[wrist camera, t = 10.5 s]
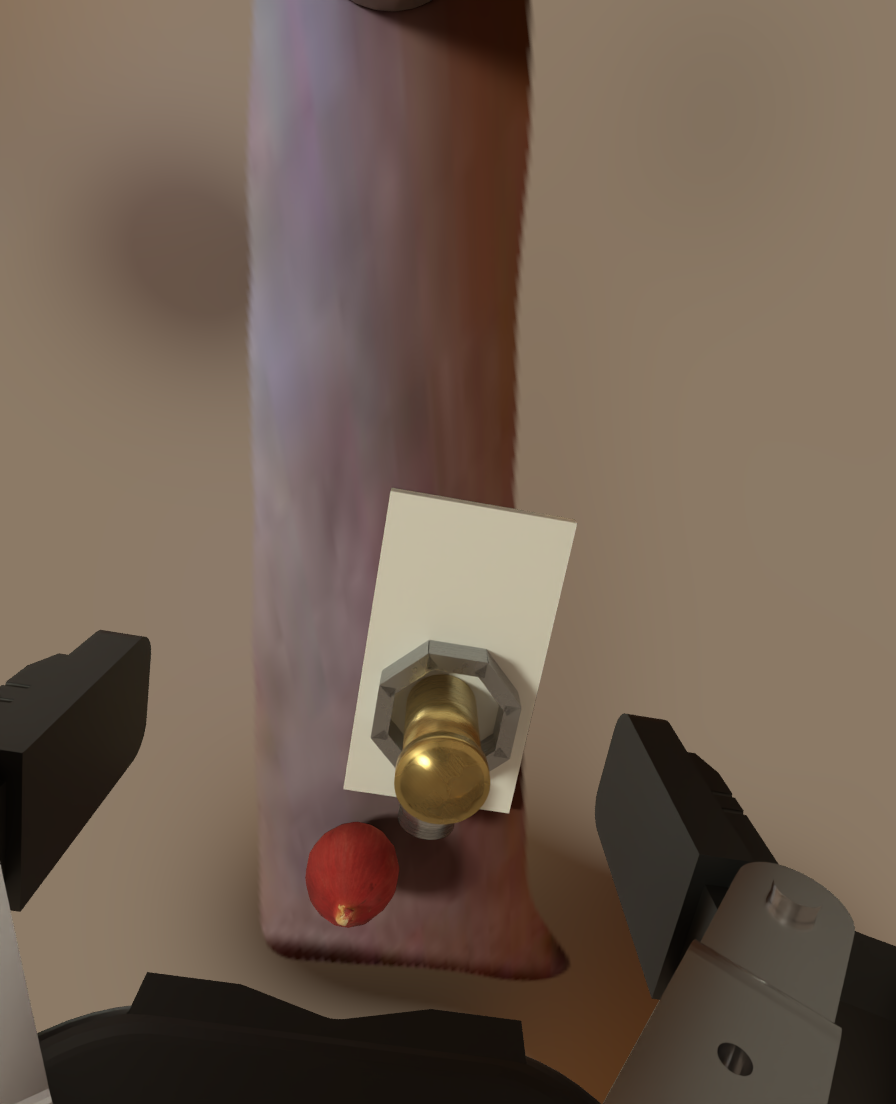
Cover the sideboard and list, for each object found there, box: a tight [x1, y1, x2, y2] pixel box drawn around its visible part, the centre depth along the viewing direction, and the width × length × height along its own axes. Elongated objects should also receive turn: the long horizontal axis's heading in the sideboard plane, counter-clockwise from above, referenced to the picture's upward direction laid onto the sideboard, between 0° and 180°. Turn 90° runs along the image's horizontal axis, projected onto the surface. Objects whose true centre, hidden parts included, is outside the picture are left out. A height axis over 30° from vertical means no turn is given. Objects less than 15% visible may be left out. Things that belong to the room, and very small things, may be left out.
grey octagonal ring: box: [371, 640, 521, 840], centre depth 43 cm, size 11×9×4 cm
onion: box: [305, 822, 399, 928], centre depth 44 cm, size 6×6×8 cm
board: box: [344, 488, 577, 813], centre depth 44 cm, size 20×11×1 cm, turn 170°
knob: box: [394, 674, 490, 824], centre depth 40 cm, size 5×5×8 cm
